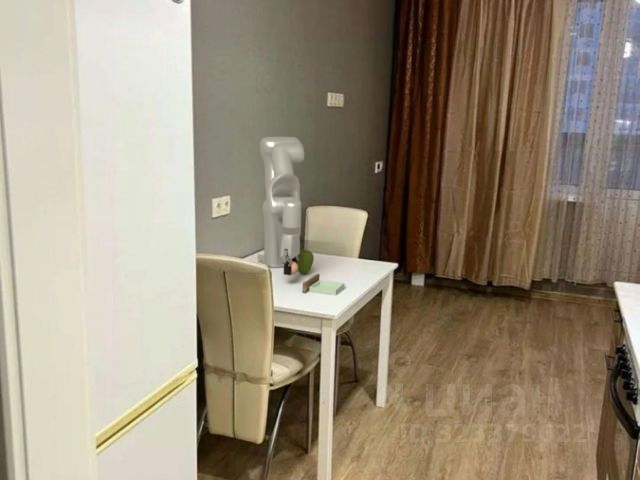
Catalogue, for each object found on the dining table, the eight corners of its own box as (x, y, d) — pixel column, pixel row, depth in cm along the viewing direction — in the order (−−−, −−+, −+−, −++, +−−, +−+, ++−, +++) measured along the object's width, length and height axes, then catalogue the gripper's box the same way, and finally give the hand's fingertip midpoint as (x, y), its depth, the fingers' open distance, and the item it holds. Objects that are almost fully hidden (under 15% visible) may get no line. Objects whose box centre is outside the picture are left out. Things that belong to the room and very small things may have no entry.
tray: (309, 291, 243) (309, 287, 243) (319, 284, 254) (319, 280, 253) (335, 295, 240) (335, 290, 239) (344, 288, 250) (344, 283, 249)
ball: (281, 275, 250) (281, 261, 249) (286, 271, 256) (287, 258, 254) (294, 277, 248) (294, 263, 247) (300, 273, 254) (300, 260, 252)
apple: (295, 276, 265) (295, 251, 263) (293, 272, 274) (293, 247, 271) (314, 276, 267) (315, 251, 264) (311, 271, 275) (312, 246, 273)
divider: (302, 293, 242) (302, 283, 241) (316, 283, 257) (316, 273, 256) (305, 293, 241) (305, 283, 241) (319, 283, 256) (319, 274, 255)
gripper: (291, 225, 257) (290, 266, 261) (274, 234, 241) (273, 277, 245) (307, 227, 254) (306, 268, 259) (291, 236, 238) (290, 279, 243)
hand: (290, 272), depth 252 cm, fingers closed on ball, 5 cm apart
